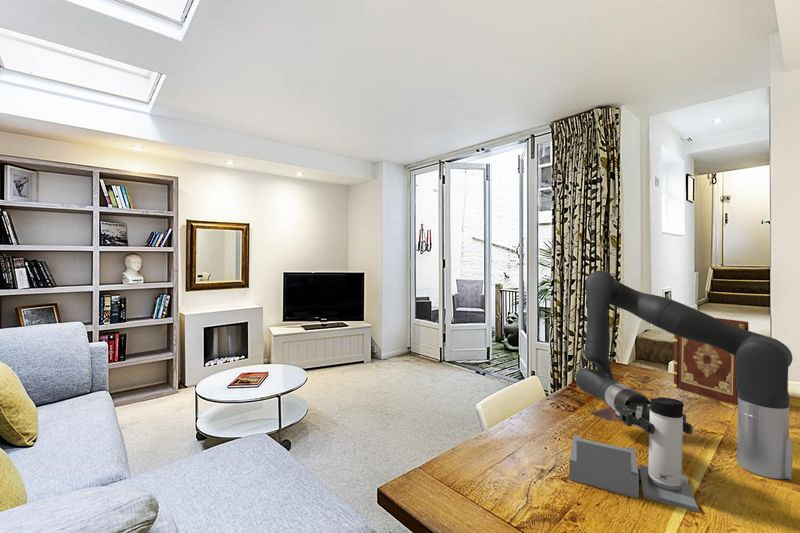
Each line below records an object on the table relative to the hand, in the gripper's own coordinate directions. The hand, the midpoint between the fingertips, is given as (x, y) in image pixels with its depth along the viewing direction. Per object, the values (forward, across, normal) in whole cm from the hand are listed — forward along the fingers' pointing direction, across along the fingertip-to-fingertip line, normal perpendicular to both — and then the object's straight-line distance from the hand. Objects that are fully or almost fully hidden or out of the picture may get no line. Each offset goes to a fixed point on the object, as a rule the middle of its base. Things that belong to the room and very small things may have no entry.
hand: (671, 430), depth 82 cm
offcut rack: (-8, -11, +14) cm, 20 cm away
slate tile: (-2, 0, +14) cm, 15 cm away
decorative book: (-60, +60, +15) cm, 86 cm away
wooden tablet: (-44, +18, +15) cm, 50 cm away
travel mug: (-2, 0, +14) cm, 14 cm away
